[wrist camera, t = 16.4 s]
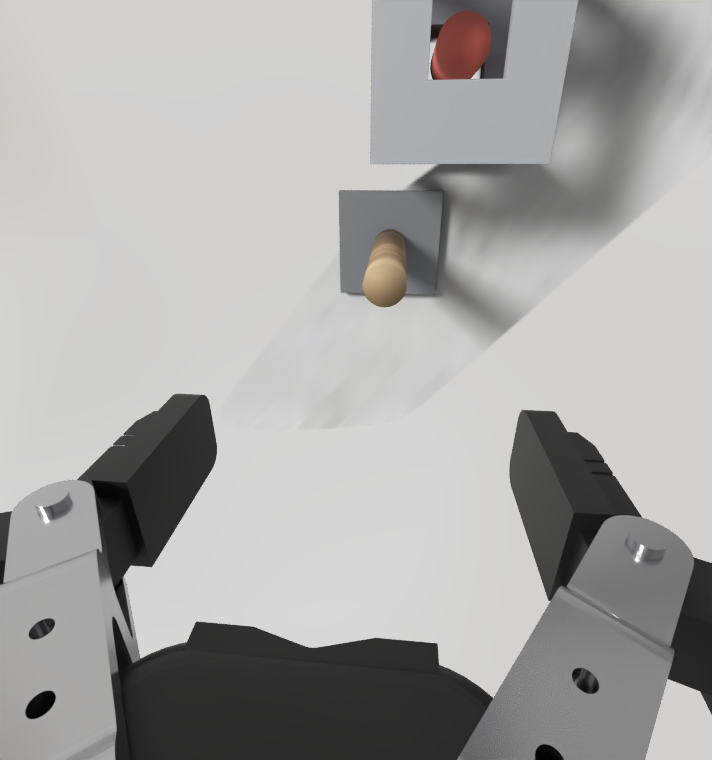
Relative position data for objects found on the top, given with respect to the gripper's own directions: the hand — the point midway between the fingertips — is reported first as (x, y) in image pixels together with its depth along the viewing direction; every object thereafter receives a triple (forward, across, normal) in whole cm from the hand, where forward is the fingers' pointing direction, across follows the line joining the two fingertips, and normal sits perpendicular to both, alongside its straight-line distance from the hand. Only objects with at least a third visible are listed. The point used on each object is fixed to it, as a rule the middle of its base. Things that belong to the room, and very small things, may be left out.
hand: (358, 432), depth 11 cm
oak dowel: (+27, 0, 0) cm, 27 cm away
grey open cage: (+28, -4, -12) cm, 31 cm away
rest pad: (+28, 0, 0) cm, 28 cm away
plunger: (+28, -4, -12) cm, 31 cm away
